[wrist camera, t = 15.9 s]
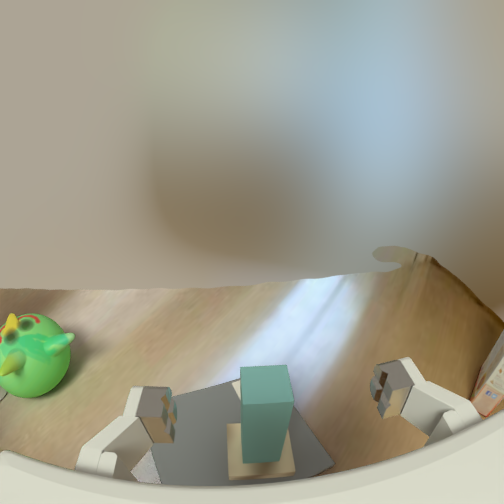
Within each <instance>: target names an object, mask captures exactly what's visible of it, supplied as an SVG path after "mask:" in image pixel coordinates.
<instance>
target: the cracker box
mask: <svg viewBox="0 0 504 504" xmlns="http://www.w3.org/2000/svg"><path fill="white" fill-rule="evenodd" d="M503 398H504V330H503V332H502V333H501V335H500V337H499V339H498V340H497V342H496V344H495V346H494V347H493V349H492V350H491V352H490V354H489V355H488V357H487V359H486V360H485V362H484V363H483V365H482V366H481V369H480V372H479V376H478V379H477V382H476V384H475V387H474V390H473V393H472V396H471V398H470V402H471V403H472V404H473V406H474V407H475V409H476V410H477V412H478V413H480V414H482V415H483V416H485V417H488V415H489V414H490V413H491V412H492V411H493V410H494V409H495V407H496V406H497V405H498V404H499V403H500V401H501V400H502V399H503Z"/></svg>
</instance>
